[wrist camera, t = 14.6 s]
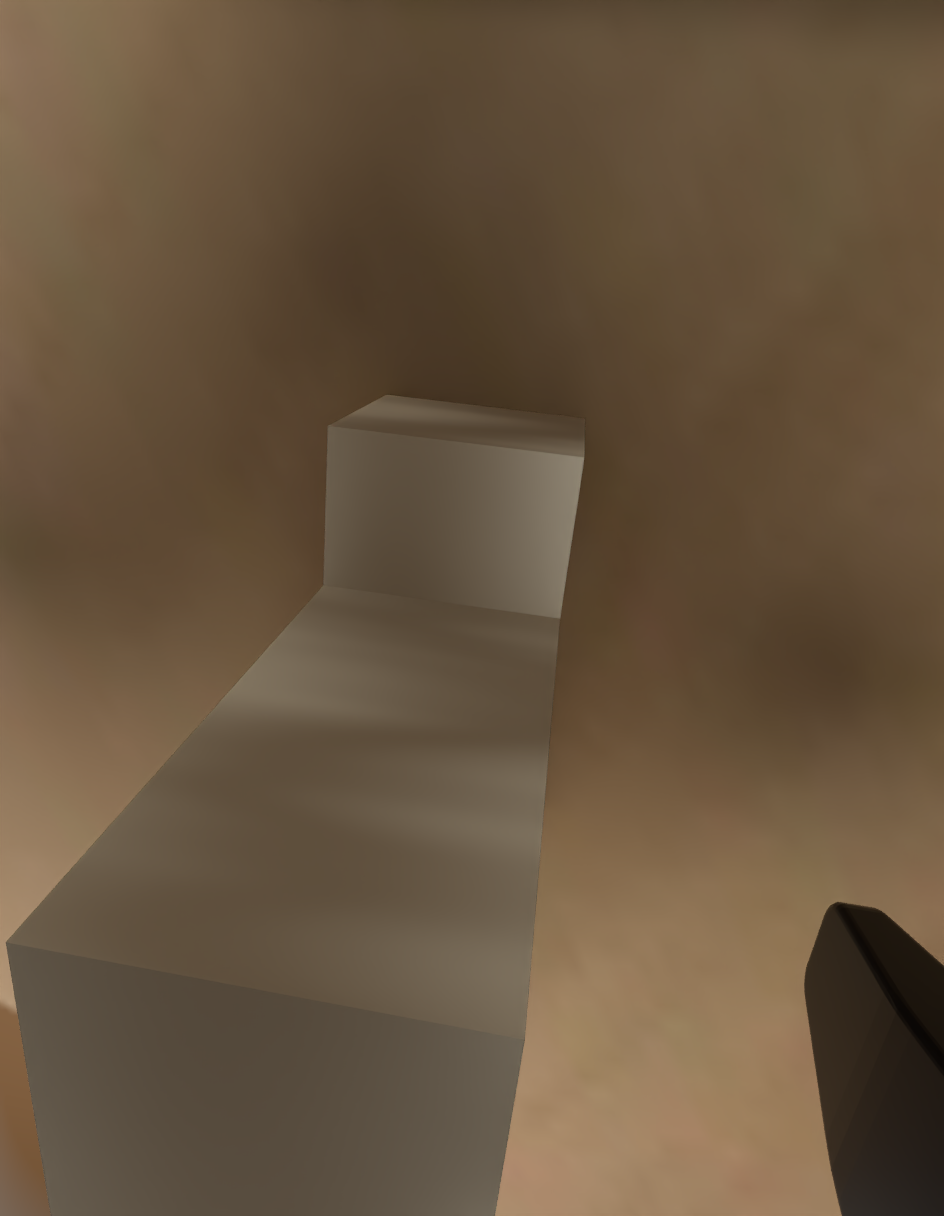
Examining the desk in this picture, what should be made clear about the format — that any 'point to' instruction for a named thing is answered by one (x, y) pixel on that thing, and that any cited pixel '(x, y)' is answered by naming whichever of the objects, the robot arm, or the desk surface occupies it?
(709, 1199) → the desk surface
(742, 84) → the desk surface
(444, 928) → the pale step bench
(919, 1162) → the robot arm
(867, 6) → the desk surface
